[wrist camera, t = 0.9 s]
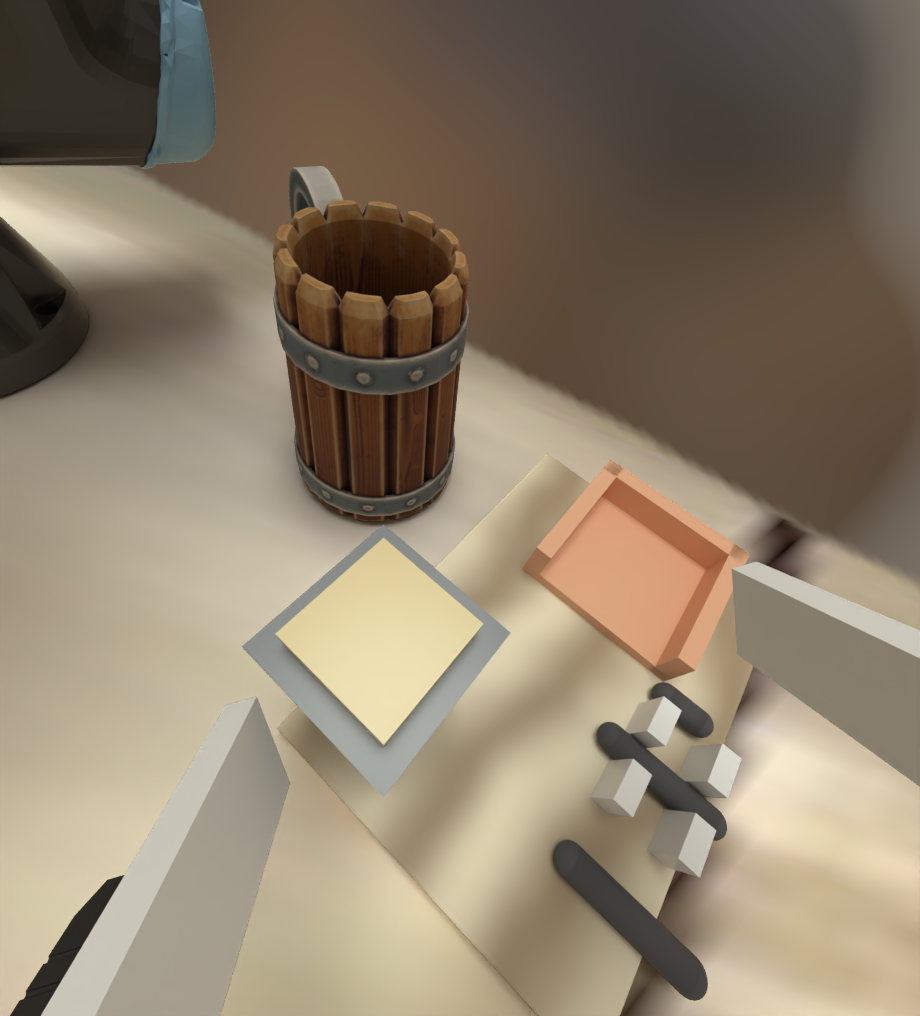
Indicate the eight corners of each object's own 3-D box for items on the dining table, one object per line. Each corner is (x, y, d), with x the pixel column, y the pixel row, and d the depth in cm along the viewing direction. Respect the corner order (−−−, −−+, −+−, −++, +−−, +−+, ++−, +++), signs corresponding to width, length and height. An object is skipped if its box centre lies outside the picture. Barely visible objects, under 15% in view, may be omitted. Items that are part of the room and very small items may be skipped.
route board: (281, 730, 21) (276, 728, 20) (542, 463, 33) (547, 453, 32) (582, 1061, 17) (595, 1079, 16) (759, 619, 29) (773, 613, 28)
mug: (477, 494, 31) (542, 297, 18) (333, 551, 27) (290, 351, 14) (385, 354, 37) (387, 136, 24) (258, 384, 33) (181, 143, 20)
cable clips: (590, 797, 21) (613, 799, 19) (638, 703, 24) (664, 696, 21) (666, 866, 20) (699, 877, 18) (708, 760, 23) (741, 758, 20)
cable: (528, 845, 19) (537, 849, 18) (631, 662, 25) (643, 656, 24) (686, 1001, 18) (708, 1018, 16) (762, 767, 23) (782, 766, 22)
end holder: (522, 568, 27) (536, 547, 24) (592, 485, 31) (610, 459, 29) (663, 681, 24) (695, 670, 22) (717, 573, 29) (749, 554, 26)
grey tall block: (309, 709, 21) (230, 635, 10) (383, 633, 23) (383, 507, 13) (383, 787, 20) (383, 799, 9) (453, 698, 22) (520, 622, 11)
